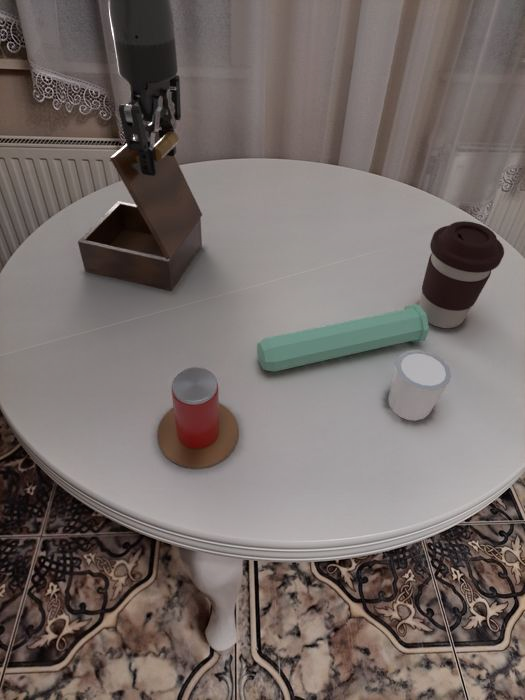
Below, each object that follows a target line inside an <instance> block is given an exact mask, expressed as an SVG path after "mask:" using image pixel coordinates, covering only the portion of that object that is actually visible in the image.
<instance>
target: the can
mask: <svg viewBox="0 0 525 700" xmlns="http://www.w3.org/2000/svg"><path fill="white" fill-rule="evenodd" d="M217 379H218V378H217V377H216V376H215V374H214V373H213V372H211V371H210V370H208V369H206V368H204V367H199V366H198V367H197V366H196V367H189V368H185V369H183V370H181V371H179V372H178V373H177V374H176V375H175V376H174V377H173V380H172V382H171V397H172V405H173V407H174V415H175V423H176V431H177V437H178V439H179V441H180V442H181V443H182V444H183V445H185V446H186V447H189V448H193V449H201V448H205V447H208V446H210V445H211V444H212V443H214V442H215V440H216V439H217V437H218V435H219V404H220V401H219V396H220V395H219V383H218V380H217ZM173 407H172V408H173Z"/></svg>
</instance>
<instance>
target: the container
mask: <svg viewBox="0 0 525 700" xmlns="http://www.w3.org/2000/svg"><path fill="white" fill-rule="evenodd" d="M429 331H430V327H429V323H428V320H427V314H426V313H425V312H424V310H423V309H422V308H421V307H420V305H419V303H417V304H411V305H406V306H405V307H404V309H400V310H395V311H390V312H386V313H381V314H377V315H371V316H366V317H361V318H357V319H352V320H347V321H343V322H338V323H337V322H336V323H331V324H328V325H323V326H318V327H313V328H309V329H308V328H307V329H304V330H299V331H294V332H289V333H284V334H280V335H274V336H270V337H265V338H263V339H261V340H259V341H258V342H257V345H256V355H257V359H258V362H259V364H260V367H261V369H262V370H263V371H268V372H278V371H282V370H287V369H292V368H296V367H300V366H304V365H310V364H313V363H319V362H322V361H326V360H331V359H335V358H341V357H344V356H349V355H353V354H354V355H355V354H359V353H364V352H367V351H372V350H376V349H381V348H385V347H390V346H394V345H398V344H402V343H407V342H411V343H422V342H425V341H426V340H427V337H428V335H429Z"/></svg>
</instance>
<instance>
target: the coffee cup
mask: <svg viewBox="0 0 525 700" xmlns="http://www.w3.org/2000/svg"><path fill="white" fill-rule="evenodd" d="M429 247H430V251H431V253H430V255H429V257H428V262H427V266H426V269H425V273H424V277H423V281H422V284H421V294H420V298H419V302H418V304H419V305H420V307H421V308H422V309H423V310H424V312H425V313H426V314H427V320H428V324H430V325H432V326H434V327H437V328H441V329H453V328H455V327H459V326H460V325H461V324H462V323H463V322H464V321H465V319H466V317H467V315H468V313H469V312H470V309H472V307H473V306H474V305H475V303H476V302H477V300H478V299H479V296H480V295H481V293H482V292H483V290H484V288H485V286H486V284H487V282H488V281H489V279H490V277H491V274H492V271H493V270H495V269H496V268H498V267H499V265H500V264H501V262H502V260H503V258H504V255H505V249H504V246H503V244H502V243H501V241H500V240H499V239H498V238H497V236H496V234H495V232H494V231H493V230H491V229H490V228H489V227H487V226H485V225H483V224H482V223H481V224H480V223H478V222H473V221H466V220H464V221H455V222H452V223H450V224H448V225H445V226H442V227H440V228H438V229H436V230H435V231H434V232H433V234H432V237H431V239H430V244H429Z"/></svg>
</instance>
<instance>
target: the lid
mask: <svg viewBox="0 0 525 700" xmlns="http://www.w3.org/2000/svg"><path fill="white" fill-rule="evenodd" d="M151 124H152V122H149V124H148V125H151ZM160 128H161V127H159V129H160ZM145 133H146V138H147V141H148V132H147V131H145ZM179 141H180V138H179V135H178V134H177V132H175V131H174V132H173V131H169V132H167V133H166V134H165V135H164V136H163V137H162V138H161V139H159V131H158V132H157V133H156V134H155V143H154V149H155V155H156V163H157V170H158V172H157V174H156V175H155V176H151V175H145V174H143V173H142V172H141V166H140V159H139V153H138V150H132V149H128V147H127V143H125V145H123V146H122V147H121V148H120V149H119V150H117V151H116V152H115V153H114V154H113V155H112V156H110V158H109V160H110V161H111V163H112V165H113V167H114V168H115V170H116V172H117V174H118V175H119V177H120V179H121V181H122V183H123V184H124V186H125V188H126V189H127V191H128V193H129V195H130V197H131V199H132V201H133V202H134V204H135V205H136V206H137V208H138V209H139V211H140V213H141V215H142V217H143V218H144V220H145V222H146V224H147V226H148V227H149V229H150V231H151V233H152V234H153V236H154V238H155V240H156V242H157V243H158V245H159V247H160V249H161V251H162V252H163V254H164V256H165V258H166V259H171V257H172V256H173V255H174V253H175V252H176V250H177V249H178V248H179V246H180V245H181V244H182V242H183V241H184V240H185V238H186V237H187V235H188V234H189V233H190V231H191V230H192V229H193V227H194V226H195V225H196V223H197V222H198V220H199V219H200V218H201V219H202V216H203V212H202V211H201V209H200V207H199V205H198V202H197V201H196V198H195V196H194V194H193V192H192V190H191V188H190V186H189V184H188V182H187V179H186V177H185V176H184V173H183V171H182V169H181V167H180V165H179V163H178V160H177V159H176V157H175V155H174V156H167V155H166V154H167V153H168V152H169V151H170V150H171V149H172V148H173V147H174V146H175V145H176V146H177V145H178V143H179Z"/></svg>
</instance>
